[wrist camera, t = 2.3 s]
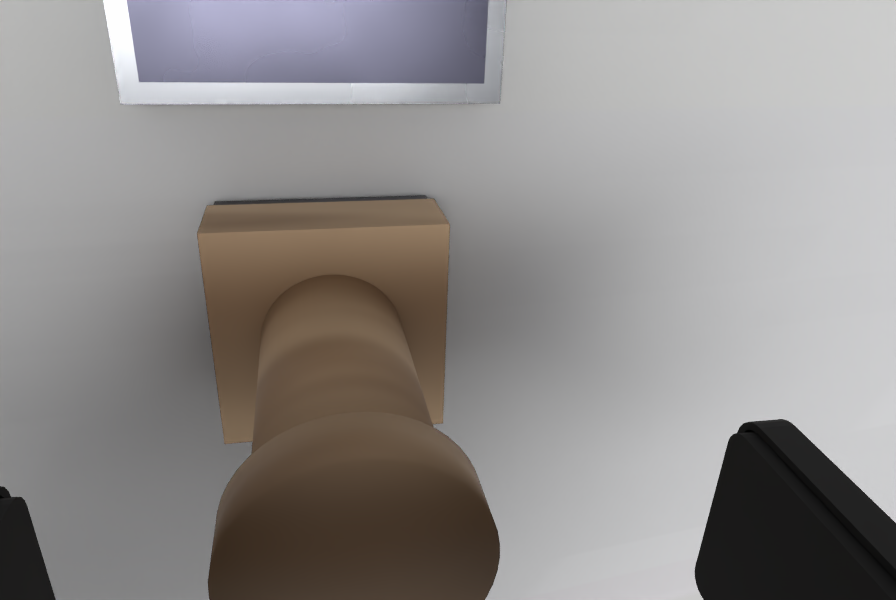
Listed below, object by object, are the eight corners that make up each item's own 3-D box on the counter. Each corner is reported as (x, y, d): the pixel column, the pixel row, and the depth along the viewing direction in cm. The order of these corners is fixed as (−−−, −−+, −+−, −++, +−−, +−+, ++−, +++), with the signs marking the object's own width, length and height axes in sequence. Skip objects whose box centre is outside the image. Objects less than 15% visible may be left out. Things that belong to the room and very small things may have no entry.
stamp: (425, 371, 19) (526, 672, 11) (232, 386, 18) (184, 731, 10) (429, 191, 16) (559, 399, 8) (209, 197, 15) (124, 439, 7)
